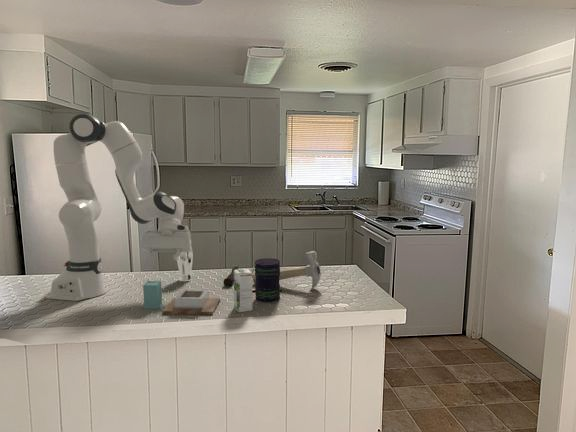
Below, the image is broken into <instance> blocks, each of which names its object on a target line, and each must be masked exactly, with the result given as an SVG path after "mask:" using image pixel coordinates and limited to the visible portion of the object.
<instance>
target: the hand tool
mask: <svg viewBox="0 0 576 432" xmlns="http://www.w3.org/2000/svg"><path fill="white" fill-rule="evenodd" d="M237 269H239V267H238V266H233V268H232V269H231V272H230V273H229V274H228V276H227V277H226V278H224V279H223V286H224V287H226V286H227V287H226V288H229V287H232V286H233V285H234V270H237Z"/></svg>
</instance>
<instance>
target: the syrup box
mask: <svg viewBox="0 0 576 432" xmlns="http://www.w3.org/2000/svg"><path fill="white" fill-rule="evenodd" d="M251 271H252V270H250V269H249V268H238V269H237V270H234V282H233V308H234V310H235V311H236V312H237V313H244V312H250V311H253V278H252V276H253V271H252V272H251Z"/></svg>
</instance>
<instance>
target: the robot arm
mask: <svg viewBox="0 0 576 432" xmlns="http://www.w3.org/2000/svg"><path fill="white" fill-rule="evenodd" d="M68 129H69V132H68V133H67V134H65V133H64V134H62V135H58V136H57V137H56V138H55V139H54V140H53V157H54V164H55V168H56V173H57V178H58V182H59V187H60V188H61V189H62V190H63V192H64V194H65V196H66V198H67V200H68V201H67V202H65V203H64V204H63V206H61V208H60V210H58V211H59V212H58V219H59V222H60V223H61V224H62V226H63V229H64V233H65V236H66V239H67V244H68V256H69V260H68V261H66V262H65V263H63V267H66V269H65V270H64V271H63V272H61V274H58V276H57V277H55V278H54V279H53V280H52V282H51V287H50V290H49V291H47V292H46V293H45V296H44V298H45V299H49V300H60V301H71V302H76V301H77V302H78V301H82V300H85V299H91V298H95V297H99V296H102V295H103V294H105V293H107V289H106V285H105V283H104V280H103V275H102V271H103V267H102V266H103V265H102V258H101V257H100V255H101V254H100V241H99V238H98V235H97V234H96V229H95V226H94V222H95V221H97V220H98V219H99V217H101V216H100V215H101V212H102V210H103V209H102V208H103V207H102V205H101V203H100V201H99V200H98V196H97V194H96V191H95V188H94V187H93V184H92V180H91V175H90V171H89V167H88V162H87V157H86V152H85V150H86V147H88V146H90V145H93V144H95V143H98V142H101V143H102V144H104V146H105V147H106V148H107V150H108V152H109V153H110V155H111V158H112V159H113V161H114V165H115V166H114V167H115V171H114V172H115V173H114V174H115V177H116V179H117V182H118V185H119V187H120V189H121V191H122V193H123V196H124V199H125V200H126V203H127V206H128V208H129V213H130V216H131V218H132V219H133V220H134V221H135V222H137V223H138V224H141V225H146V224H148V223H150V222H151V221H153V220H156V219H160V222H159V224H158V229H157V230H148V231H146V232H144V233H143V235H142V238H141V240H140V241H141V242H140V245H139V246H140V249H141V251H142V252H144V253H145V252H146V253H148V255H149V256H148V260H149V261H154V260H155V255H153V252H154V253H157V252H158V253H159V252H160V253H165V252H166V253H169V252H170V253H175V254H172V261H176V262H177V258H178V257H179V255H180V254H181V252H189V251H190V250H191V247H192V239H191V231H190V229H189V227H188V226H187V225H183V224H182V222H183V218H184V213H185V204H184V201H183V200H182V199H181V197H178V196H175V195H168V194H167V193H166V192H163V191H156V192H154V193H151V194H150V195H148V196H146V197H144V198H143V197H141V194H140V192H139V190H138V187H137V186H136V183H135V180H134V177H135V174H136V171H137V170H138V168H139V167H140V166H141V163H142V161H143V151H142V149H141V146H140V145H139V143H138V142H137V140H136V139H135V137H134V136H133V134H132V132H131V131H130V130H129V128H128V127H127V126H126V125H125V123H123V122H121V121H119V120H113V121H109V122H106V123H104V122H103V121H102V120H100V119H99V118H97V117H96V116H95V115H92V114H89V113H79V114H76V115H74V116H73V117H72V118H71V120H70V121H69V126H68Z"/></svg>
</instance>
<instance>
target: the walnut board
mask: <svg viewBox="0 0 576 432" xmlns="http://www.w3.org/2000/svg"><path fill="white" fill-rule="evenodd" d="M175 298H176V297H173V298H172V299H171V300H170V302H169V303H167V305H166V306H165V308H164V309H163V310H161V311H162V315H173V314H213V313H215V312H216V310H217V308H218V307H219V305H220V303H221V298H220V297H219V298H218V297H217V298H214V297H213V298H212V297H211V298H210V297H209V301H208V302H207V304H206V305H205V307H204V308H203V310H199V309H175ZM217 306H218V307H217ZM213 315H214V314H213Z"/></svg>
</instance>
